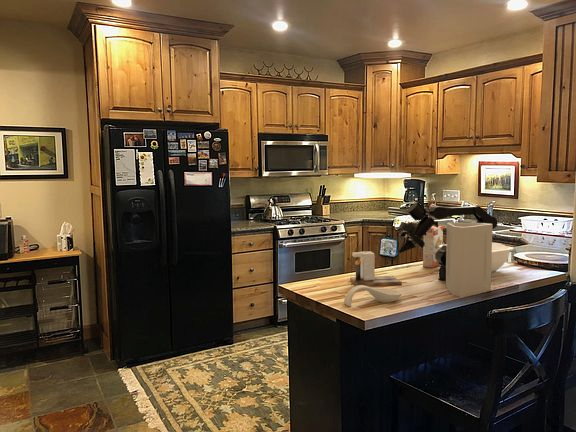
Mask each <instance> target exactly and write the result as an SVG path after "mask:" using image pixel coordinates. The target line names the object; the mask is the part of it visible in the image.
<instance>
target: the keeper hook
mask: <svg viewBox="0 0 576 432" xmlns="http://www.w3.org/2000/svg"><path fill="white" fill-rule="evenodd" d="M354 264H355V277H356V280H361V261H360V259H357V260H355V263H354Z"/></svg>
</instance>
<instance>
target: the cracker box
mask: <svg viewBox="0 0 576 432" xmlns="http://www.w3.org/2000/svg"><path fill="white" fill-rule="evenodd" d="M426 234H427V235H426V236H423V241H424V242H425V246H424V247H423V248H422V249H423V250H422V267H423V268H430V269H434V268H435V267H438V266H440V265H439V263H438V261H437V260H436V259H435V254H436V252H437V250H438V249H440V247H438V246H439V245H443V243H444V242H443V240H444V239H443V238H444V236H443V235H444V226H443V225H438V228H437V227H434V226H432V227H431V228H430V230H429V231H428V232H427V233H426Z"/></svg>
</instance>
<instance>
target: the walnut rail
mask: <svg viewBox="0 0 576 432" xmlns="http://www.w3.org/2000/svg"><path fill="white" fill-rule="evenodd" d="M349 279H350V280H349V281H350V282H351V283H352V284H353V285H354V287H355V286H358V285H364V286H368V287H383V286H385V287H386V286H402V285H403V282H402V281H401V280H400V279H399V278H397V277H395V276H394V275H380V276H379V275H377V276H376V275H375V280H363V279H361V280H356V276H351V277H349Z"/></svg>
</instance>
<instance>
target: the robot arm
mask: <svg viewBox="0 0 576 432" xmlns="http://www.w3.org/2000/svg"><path fill="white" fill-rule="evenodd" d="M406 213H407V214H408V215H409V216H410V217H411V218H412V219H413V220H414V221H416V222H417V221H418V223H416V224H413V223H412V222H411V221H409V222H407V223H406V222H404V221H401V222H400V224H399V226H398V229H400V230H401V231H400V232H399V233H398V235H399V236H400V237H401V239H402V242H401V244H400V246H399V248H398V250H397V252H398V254H401V253H404V252H407V251H410V250H412V249H414V248H416V247H417V246H416V245H418V248H419V249H423V247H424V246H425V242H424V239H422V238H424V236H426V235H427V234H426V233H427V232H428V231H429V230H430V228H431V227H432V226H434V227H437V228H438V226H439V221H437V220H443V219H447V218H449V217H453V216H456V217H457V216H469V215H470V216H471V215H473V217H474V219H475V220H476V221H475V223H487V224H492V230H494V229H496V228H497V227H498V220H497V218H496V217H495V216H493V215H492V214H490V213H489V212H487V211H486V210H484V209H483V208H482V207H481V206H480V205H474V204H473V205H468V206H452V207H451V206H450V207H449V206H448V207H447V206H441V205H440V206H439V205H432V206H430V208H424V207H423V206H422V204H421V203H420V202H419V201H417V202H415V203H413V204H412V205H411V206H409V207H408V208H407V210H406ZM435 219H436V220H435ZM442 245H443V246H442V247H441V248H440V249H438V250H437V252H436V254H435V259H436V260H437V261H438V263H439V265H438V266H439V269H438V278H437V279H438V281H445V282H446V247H447V246H446V245H444V244H442Z"/></svg>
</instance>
